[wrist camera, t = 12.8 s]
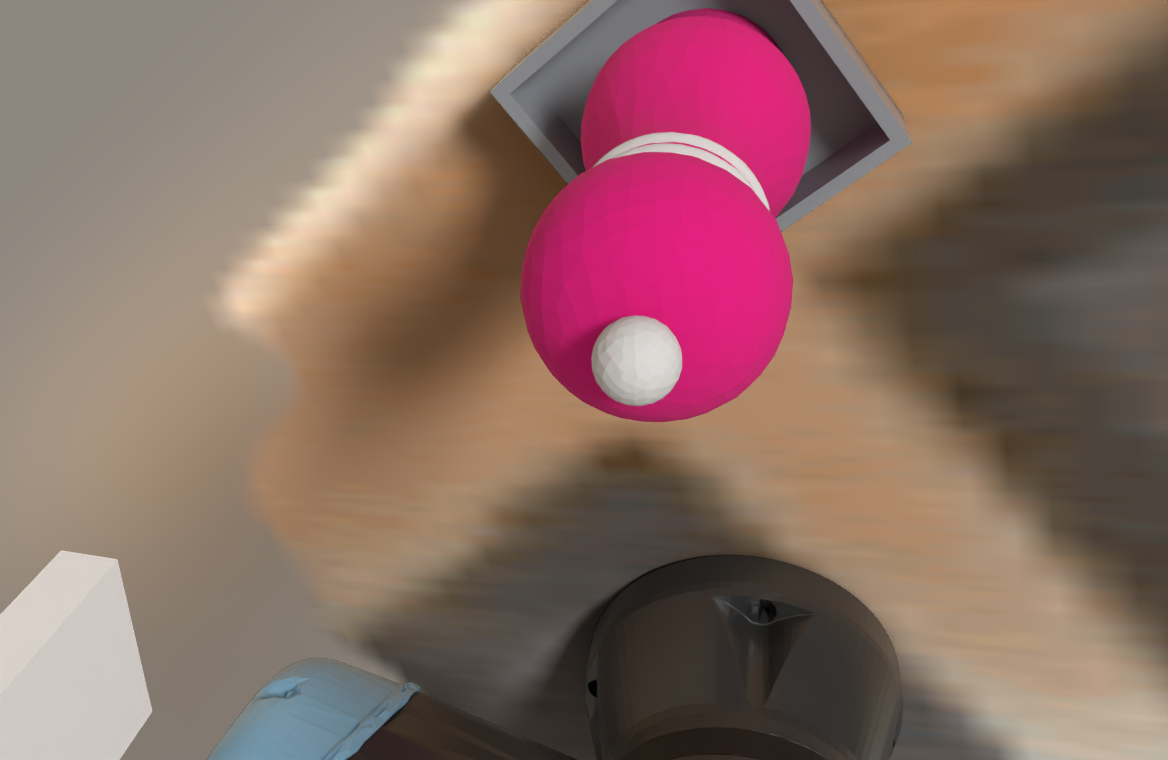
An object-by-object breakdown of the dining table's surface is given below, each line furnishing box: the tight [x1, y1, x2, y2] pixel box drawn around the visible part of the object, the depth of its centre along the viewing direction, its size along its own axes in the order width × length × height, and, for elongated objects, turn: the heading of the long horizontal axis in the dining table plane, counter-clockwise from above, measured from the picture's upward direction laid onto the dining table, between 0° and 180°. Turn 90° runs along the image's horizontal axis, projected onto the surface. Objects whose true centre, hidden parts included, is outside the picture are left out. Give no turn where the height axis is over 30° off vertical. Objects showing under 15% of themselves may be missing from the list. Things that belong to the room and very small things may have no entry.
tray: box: [490, 0, 912, 231], centre depth 36 cm, size 10×10×4 cm
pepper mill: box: [520, 8, 811, 422], centre depth 28 cm, size 7×7×20 cm
